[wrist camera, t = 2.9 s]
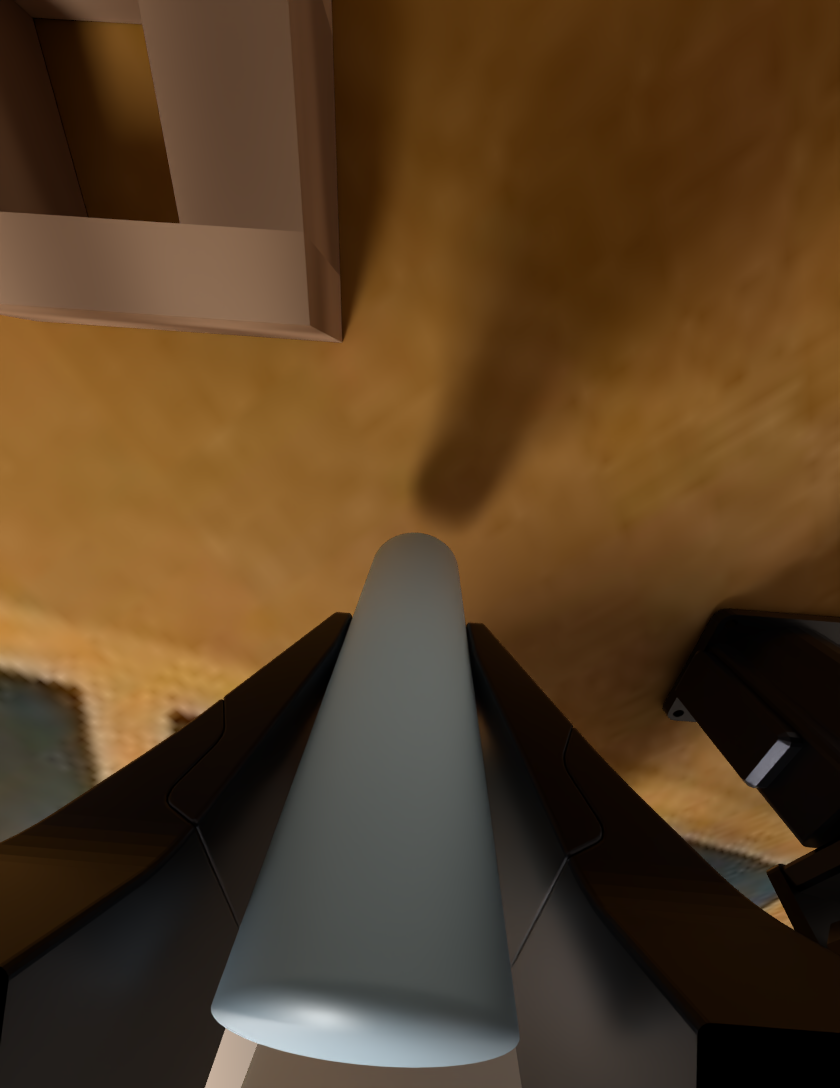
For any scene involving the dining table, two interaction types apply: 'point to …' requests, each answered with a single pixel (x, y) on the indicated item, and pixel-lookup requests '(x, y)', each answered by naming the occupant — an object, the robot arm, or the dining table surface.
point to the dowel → (384, 851)
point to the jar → (374, 1073)
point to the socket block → (183, 176)
